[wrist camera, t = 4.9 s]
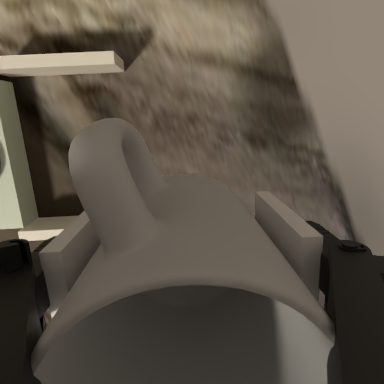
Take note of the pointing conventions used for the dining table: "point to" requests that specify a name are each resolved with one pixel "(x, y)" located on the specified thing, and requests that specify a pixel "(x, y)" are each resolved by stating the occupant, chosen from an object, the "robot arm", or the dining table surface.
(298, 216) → the robot arm
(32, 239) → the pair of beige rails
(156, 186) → the mug
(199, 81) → the dining table surface
